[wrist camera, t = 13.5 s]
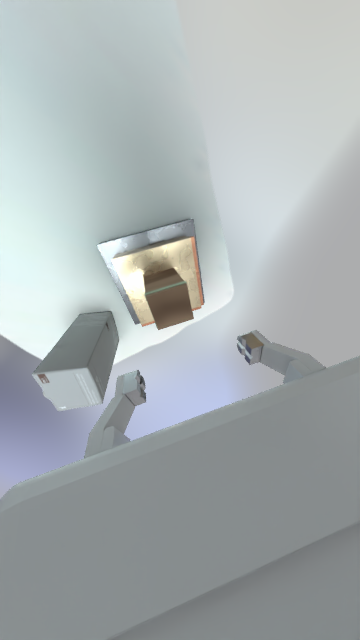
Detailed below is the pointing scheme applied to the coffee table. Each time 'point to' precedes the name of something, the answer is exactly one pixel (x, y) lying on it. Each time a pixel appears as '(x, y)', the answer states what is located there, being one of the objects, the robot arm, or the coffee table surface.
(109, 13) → the coffee table surface
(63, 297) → the coffee table surface
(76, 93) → the coffee table surface
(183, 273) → the stand
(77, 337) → the skincare box
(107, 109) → the coffee table surface
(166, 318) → the walnut column
